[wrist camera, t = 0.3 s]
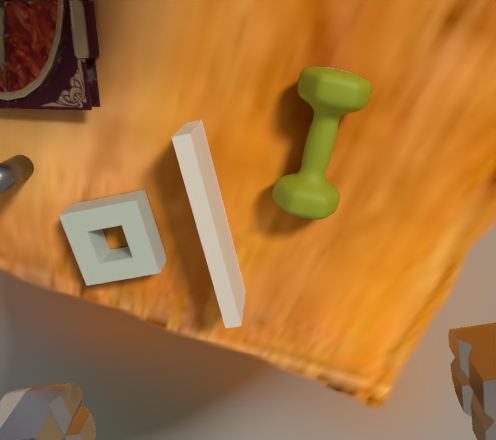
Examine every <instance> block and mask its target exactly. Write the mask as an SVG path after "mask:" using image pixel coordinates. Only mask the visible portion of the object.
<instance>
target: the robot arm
mask: <svg viewBox="0 0 496 440" xmlns="http://www.w3.org/2000/svg"><path fill="white" fill-rule="evenodd" d="M448 337H449V347H450V349H451V351H452V352H453V354H454V356H455V359H454V360H453V361H452V363H451V372H452V380H453V384H454V388H455V392H456V395H457V397H458V400H459V403H460V405H461V407H462V409H463V411H464V412H465V413H466V414H468V415H470V416H471V417H472V426H473V431H474V434H475V436H476V438H477V440H496V323H489V324H483V325H476V326H469V327H462V328H456V329H450V330H449V335H448ZM82 399H83V395H82V393H81V391H80V389H79V387H78V385H76V384H73V383H68V384H59V385H51V386H42V387H34V388H28V389H20V390H13V391H11V392H9V393H7V394H6V395H5V396H4V397H3V398H2V400H1V401H0V440H95V433H96V430H95V424H94V419H93V417H92V415H91V413H90V411H88V410H87V409H85V408H84V407H83V406H81V402H82Z"/></svg>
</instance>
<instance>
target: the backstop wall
mask: <svg viewBox="0 0 496 440" xmlns="http://www.w3.org/2000/svg"><path fill="white" fill-rule="evenodd" d="M171 138H172V141H173V145H174V148H175V152H176V155H177V159H178V162H179V166H180V169H181V173H182V176H183V180H184V183H185V187H186V191H187V194H188V198H189V201H190V205H191V208H192V212H193V215H194V219H195V222H196V226H197V229H198V233H199V236H200V240H201V244H202V247H203V251H204V254H205V258H206V261H207V265H208V268H209V272H210V275H211V279H212V282H213V286H214V289H215V293H216V297H217V300H218V304H219V307H220V311H221V314H222V318H223V321H224V325H225V328H231V327H238V326H241V325H242V318H243V310H244V302H245V294H246V291H245V287H244V283H243V279H242V275H241V271H240V267H239V263H238V259H237V255H236V252H235V248H234V244H233V240H232V236H231V232H230V228H229V224H228V220H227V216H226V212H225V208H224V205H223V201H222V197H221V193H220V189H219V185H218V181H217V177H216V173H215V169H214V165H213V161H212V158H211V154H210V150H209V146H208V142H207V138H206V134H205V130H204V126H203V122H202V120H197V121H193V122H188V123H185V124H184V125H183V126H182V127H181V128H180V129H179V130H178V131H177V132H176V133H175V134H174V135H173V136H172V137H171Z"/></svg>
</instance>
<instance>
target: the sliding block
mask: <svg viewBox="0 0 496 440" xmlns="http://www.w3.org/2000/svg"><path fill="white" fill-rule="evenodd" d="M59 217H60V220H61V223H62V225H63V228H64V230H65V233H66V235H67V238H68V240H69V243H70V245H71V248H72V250H73V253H74V255H75V258H76V260H77V263H78V265H79V268H80V270H81V273H82V275H83V278H84V280H85V283H86V285H87V286H88V285H94V284H100V283H106V282H112V281H118V280H123V279H129V278H135V277H141V276H147V275H153V274H159V273H160V272H161V270H162V268H163V266H164V264H165V262H166V260H167V257H166V254H165V251H164V248H163V245H162V242H161V239H160V235H159V232H158V229H157V226H156V223H155V220H154V216H153V213H152V210H151V207H150V204H149V201H148V198H147V194H146V191H145V190H140V191H135V192H130V193H125V194H120V195H115V196H110V197H105V198H100V199H94V200H89V201H84V202H79V203H74V204H71V205H70V206H69V207H68V208H67V209H66V210H64V211H63V212H62V213H61V214H60V215H59ZM120 225H122V228H123V231H124V234H125V237H126V240H127V242H128V245H129V246H128V247H123V248H117V249H112V250H110V249H109V246H108V243H107V240H106V238H105V235H104V232H103V229H104V228H110V227H115V226H120Z"/></svg>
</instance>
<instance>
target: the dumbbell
mask: <svg viewBox="0 0 496 440" xmlns="http://www.w3.org/2000/svg"><path fill="white" fill-rule="evenodd" d="M297 90H298V94H299V96H300V97H301V98H302V99H303V100H305V101H306V102H307V103H309V104H310V105H311V106H312V108H313V110H314V117H313V120H312V123H311V126H310V129H309V132H308V135H307V139H306V143H305V147H304V152H303V157H302V164H301V168H300V170H299V172H298V173H292V174H288V175H285V176H283V177H280V178H279V179H278V180H277V181H276V183H275V185H274V188H273V193H272V198H273V200H274V202H275V203H276V204H277V205H279V206H280V207H281V208H282V209H283V210H284V211H286V212H287V213H289V214H291V215H294V216H298V217H303V218H308V219H323V218H326V217H328V216H329V215H331V214H333V213H334V212H335V211H336V209H337V206H338V203H339V197H340V196H339V193H338V191H337V189H336V188H335V187H334V186H332V185H331V184H330V183H329V182H328V181H327V180H326V179H325V171H326V168H327V166H328V163H329V161H330V157H331V154H332V150H333V147H334V143H335V139H336V135H337V129H338V124H339V121H340V119H341V117H342V116H343V115H344V114H346V113H350V112H355V111H358V110H361V109H362V108H364V107H365V106H366V105H367V103H368V101H369V98H370V94H371V91H372V87H371V84H370V83H369V82H368V81H367V80H366V79H364V78H363V77H361V76H358V75H356V74H354V73H351V72H348V71H344V70H340V69H335V68H328V67H309V68H306V69H304V70H303V71H302V72H301V74H300V77H299V81H298V87H297Z"/></svg>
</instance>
